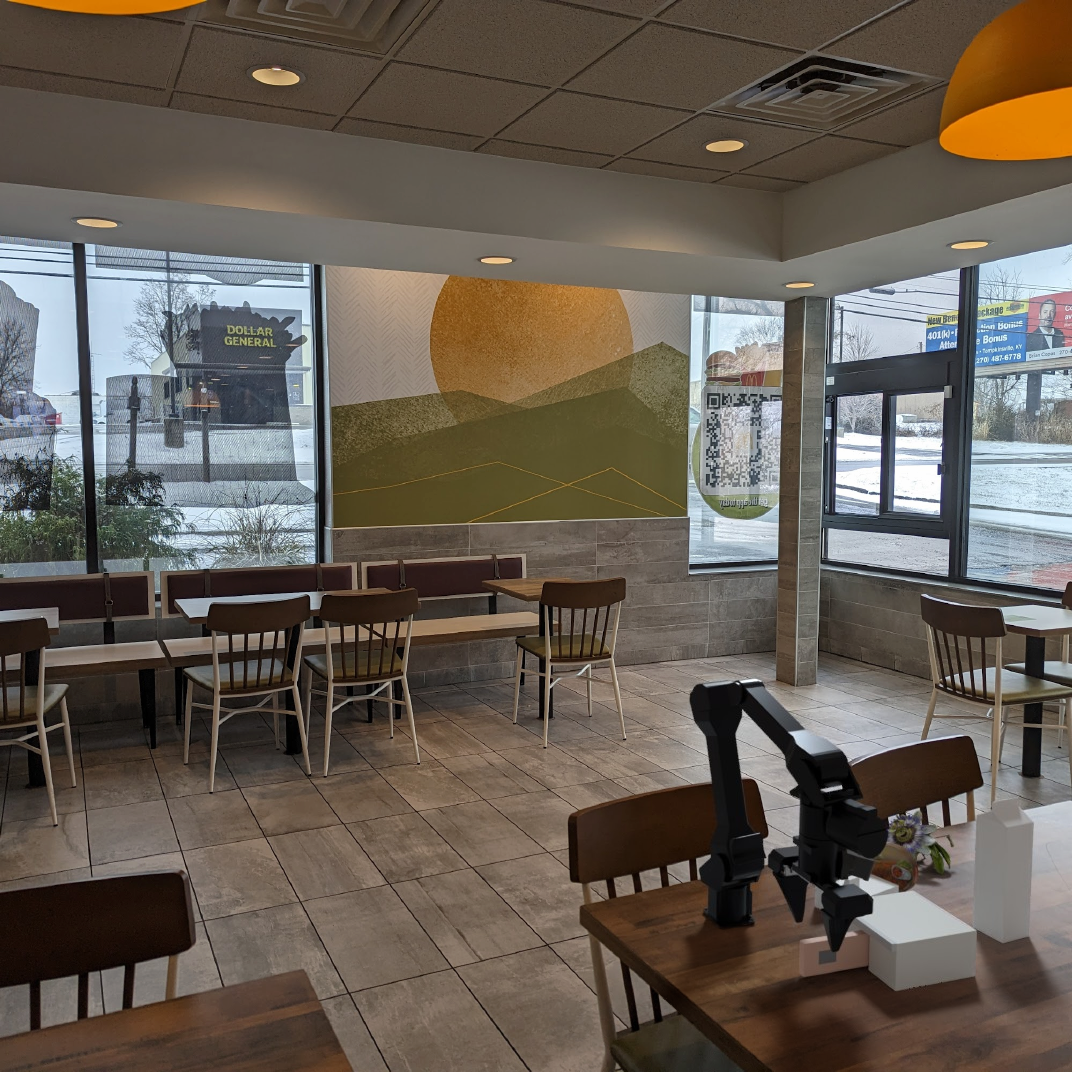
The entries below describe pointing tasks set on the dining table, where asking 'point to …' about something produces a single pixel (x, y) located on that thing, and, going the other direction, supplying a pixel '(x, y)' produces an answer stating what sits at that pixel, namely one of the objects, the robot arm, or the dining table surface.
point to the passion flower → (918, 839)
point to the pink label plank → (833, 954)
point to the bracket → (863, 887)
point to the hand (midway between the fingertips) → (816, 936)
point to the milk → (1003, 871)
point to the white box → (916, 942)
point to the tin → (896, 866)
